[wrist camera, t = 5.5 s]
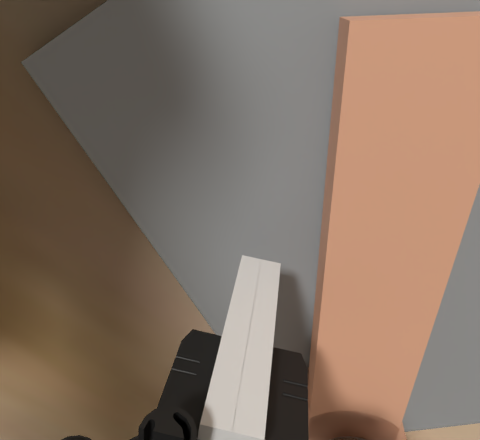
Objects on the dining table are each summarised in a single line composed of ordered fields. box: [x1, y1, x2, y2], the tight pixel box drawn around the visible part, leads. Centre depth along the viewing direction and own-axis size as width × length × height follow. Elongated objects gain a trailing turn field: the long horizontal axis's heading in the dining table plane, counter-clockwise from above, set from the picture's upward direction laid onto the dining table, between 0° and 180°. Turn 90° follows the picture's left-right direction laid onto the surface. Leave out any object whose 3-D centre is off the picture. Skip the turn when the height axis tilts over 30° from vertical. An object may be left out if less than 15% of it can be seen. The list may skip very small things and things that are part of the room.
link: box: [308, 11, 480, 440], centre depth 15 cm, size 21×5×3 cm, turn 2°
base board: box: [21, 0, 480, 432], centre depth 14 cm, size 26×26×1 cm
